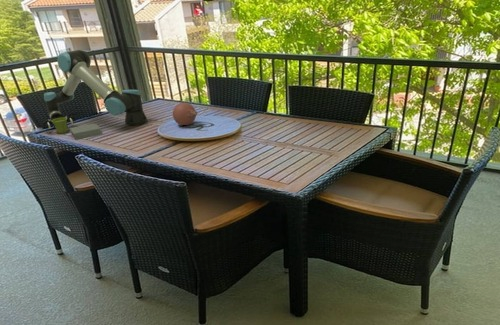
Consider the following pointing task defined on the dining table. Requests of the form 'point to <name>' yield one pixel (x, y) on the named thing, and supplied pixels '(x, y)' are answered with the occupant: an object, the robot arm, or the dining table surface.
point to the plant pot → (60, 124)
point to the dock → (85, 131)
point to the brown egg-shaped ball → (184, 114)
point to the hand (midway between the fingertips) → (61, 124)
